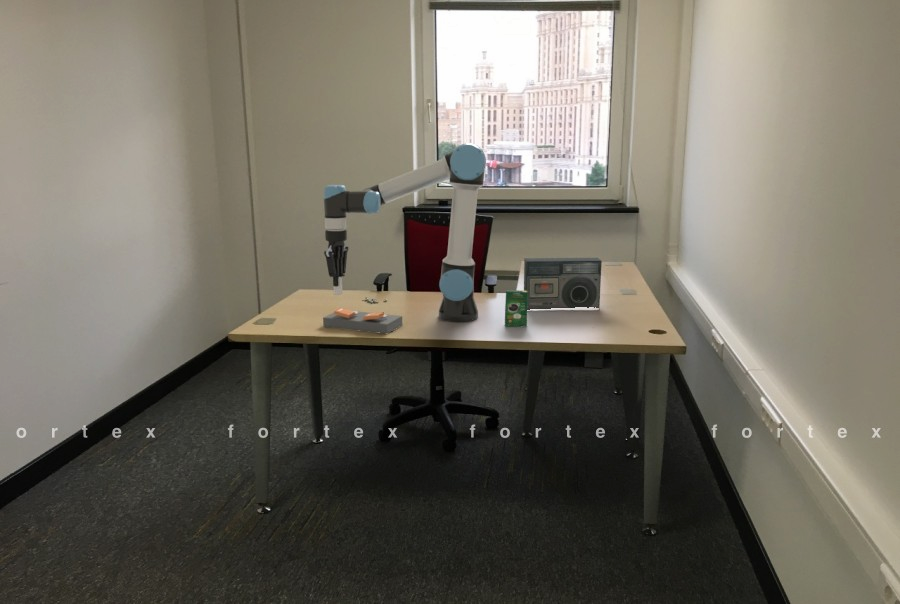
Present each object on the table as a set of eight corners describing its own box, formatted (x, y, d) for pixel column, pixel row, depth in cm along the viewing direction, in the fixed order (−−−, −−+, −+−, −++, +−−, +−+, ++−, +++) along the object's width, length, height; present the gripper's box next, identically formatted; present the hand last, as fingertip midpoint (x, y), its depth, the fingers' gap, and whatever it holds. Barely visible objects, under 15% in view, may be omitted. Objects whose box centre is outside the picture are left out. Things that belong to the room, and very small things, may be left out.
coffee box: (526, 324, 245) (527, 289, 242) (527, 326, 242) (528, 291, 239) (504, 324, 245) (505, 289, 242) (505, 326, 242) (505, 291, 239)
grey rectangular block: (402, 325, 245) (402, 315, 244) (387, 334, 234) (387, 323, 233) (340, 318, 254) (340, 308, 253) (323, 326, 243) (322, 316, 243)
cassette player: (525, 311, 264) (526, 261, 259) (523, 307, 270) (524, 258, 266) (599, 310, 264) (601, 260, 259) (595, 306, 271) (597, 257, 266)
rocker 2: (384, 315, 239) (383, 311, 239) (378, 318, 235) (378, 314, 235) (369, 316, 242) (369, 313, 242) (364, 319, 238) (363, 316, 238)
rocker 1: (354, 315, 244) (355, 311, 244) (348, 318, 240) (348, 314, 240) (340, 310, 246) (340, 307, 246) (334, 313, 242) (334, 310, 242)
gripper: (336, 226, 244) (338, 289, 249) (316, 231, 232) (319, 297, 237) (354, 227, 241) (356, 291, 247) (335, 232, 229) (337, 299, 235)
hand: (338, 294), depth 242 cm, fingers closed
